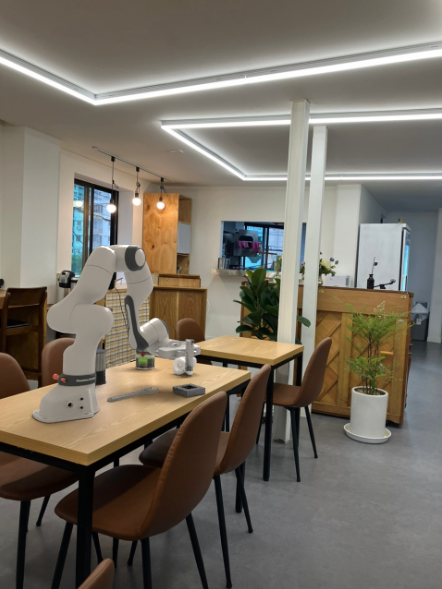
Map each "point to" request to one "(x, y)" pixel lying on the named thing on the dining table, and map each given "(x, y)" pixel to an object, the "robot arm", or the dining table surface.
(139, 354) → the coffee can
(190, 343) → the keyed metal peg
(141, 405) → the dining table surface
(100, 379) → the milk frother
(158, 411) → the dining table surface
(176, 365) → the white knot
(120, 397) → the adjustable wrench
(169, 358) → the robot arm
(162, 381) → the dining table surface
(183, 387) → the socket block
